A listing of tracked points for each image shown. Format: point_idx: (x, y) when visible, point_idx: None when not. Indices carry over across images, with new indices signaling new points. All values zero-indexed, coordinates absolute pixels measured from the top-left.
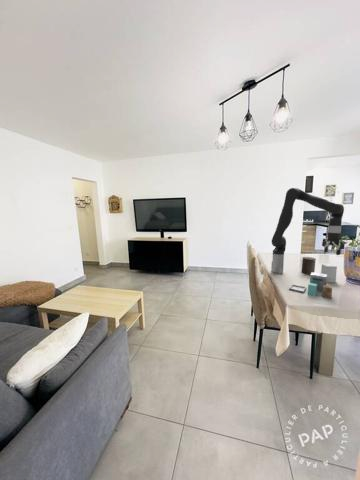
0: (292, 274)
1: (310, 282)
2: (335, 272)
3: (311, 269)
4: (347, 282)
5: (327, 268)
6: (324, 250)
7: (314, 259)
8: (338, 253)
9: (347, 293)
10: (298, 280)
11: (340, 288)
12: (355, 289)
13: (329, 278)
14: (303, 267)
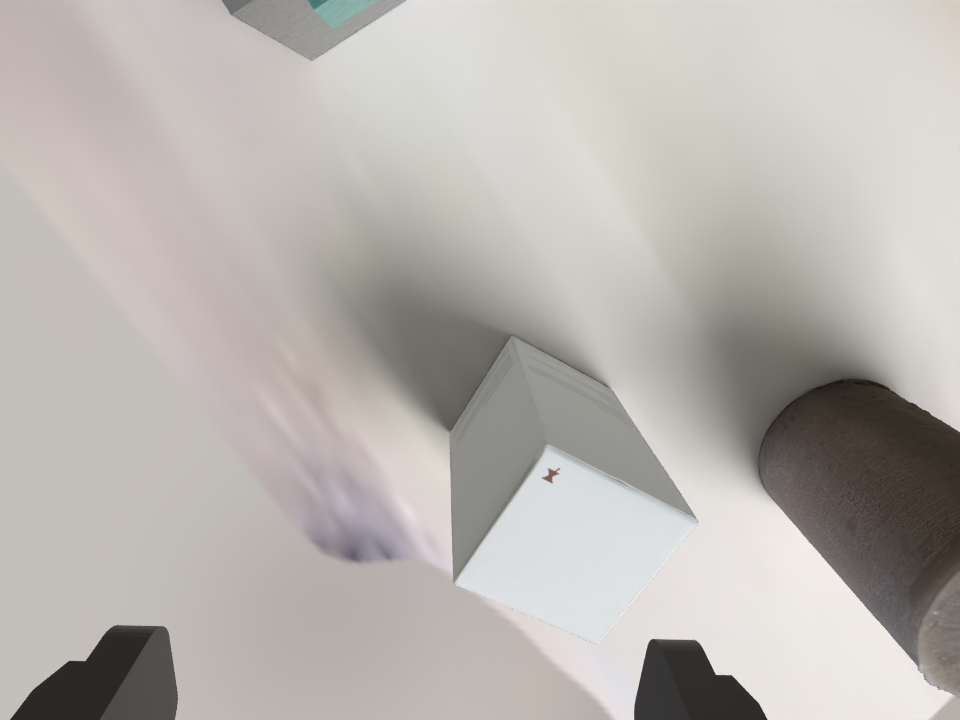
0: (940, 197)
1: None
2: (457, 502)
3: (815, 465)
4: (392, 540)
5: (530, 437)
6: (758, 717)
7: (920, 623)
8: (47, 698)
9: (122, 192)
10: (736, 22)
11: (277, 283)
12: (202, 409)
13: (488, 392)
14: (935, 422)
